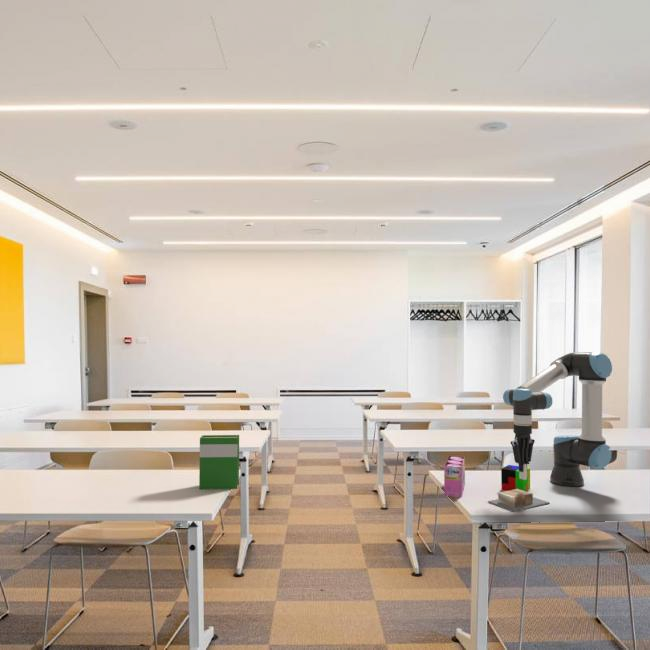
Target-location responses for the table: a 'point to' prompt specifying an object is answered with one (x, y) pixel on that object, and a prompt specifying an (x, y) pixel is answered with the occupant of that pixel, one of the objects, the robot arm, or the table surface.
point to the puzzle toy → (514, 479)
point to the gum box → (454, 476)
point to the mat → (535, 503)
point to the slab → (515, 497)
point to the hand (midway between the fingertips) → (523, 478)
